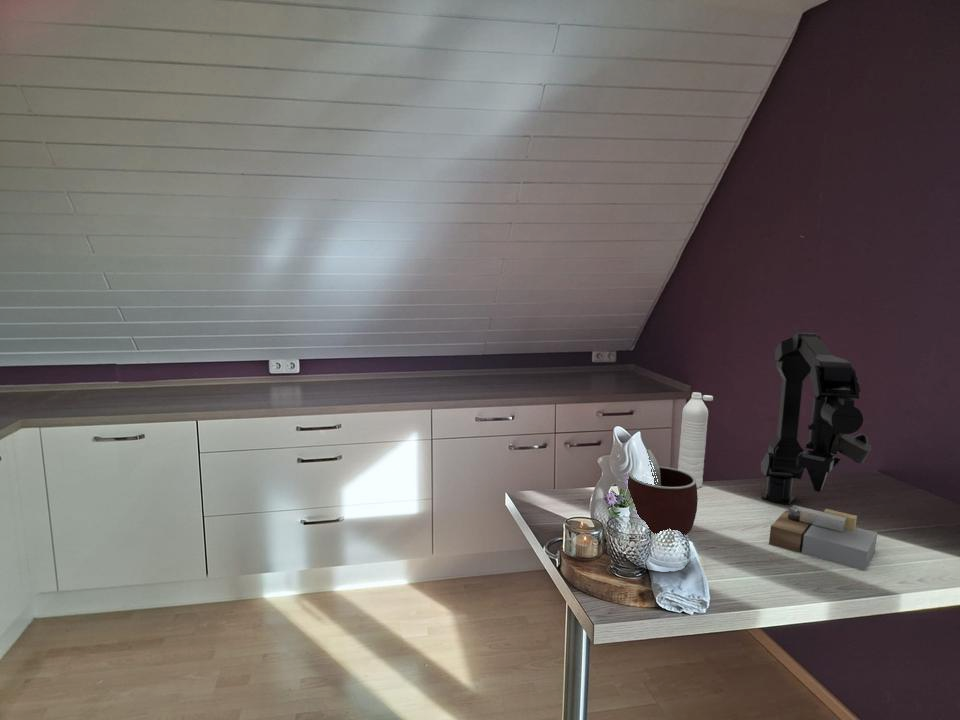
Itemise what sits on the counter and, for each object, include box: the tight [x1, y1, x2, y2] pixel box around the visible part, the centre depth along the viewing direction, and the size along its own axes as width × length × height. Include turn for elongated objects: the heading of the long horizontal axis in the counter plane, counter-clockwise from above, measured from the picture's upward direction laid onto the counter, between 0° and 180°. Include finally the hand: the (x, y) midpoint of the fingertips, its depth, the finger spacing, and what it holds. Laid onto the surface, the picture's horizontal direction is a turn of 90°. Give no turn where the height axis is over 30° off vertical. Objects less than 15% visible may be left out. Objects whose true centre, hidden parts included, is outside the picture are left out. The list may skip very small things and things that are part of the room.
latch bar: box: [787, 504, 847, 532], centre depth 142 cm, size 11×3×2 cm, turn 51°
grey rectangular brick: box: [801, 508, 878, 572], centre depth 138 cm, size 12×12×7 cm
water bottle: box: [677, 391, 714, 489], centre depth 173 cm, size 9×6×25 cm
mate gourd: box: [627, 449, 699, 536], centre depth 132 cm, size 16×14×20 cm
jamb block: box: [768, 509, 812, 553], centre depth 144 cm, size 12×6×4 cm, turn 141°
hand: (817, 491), depth 141 cm, fingers closed
